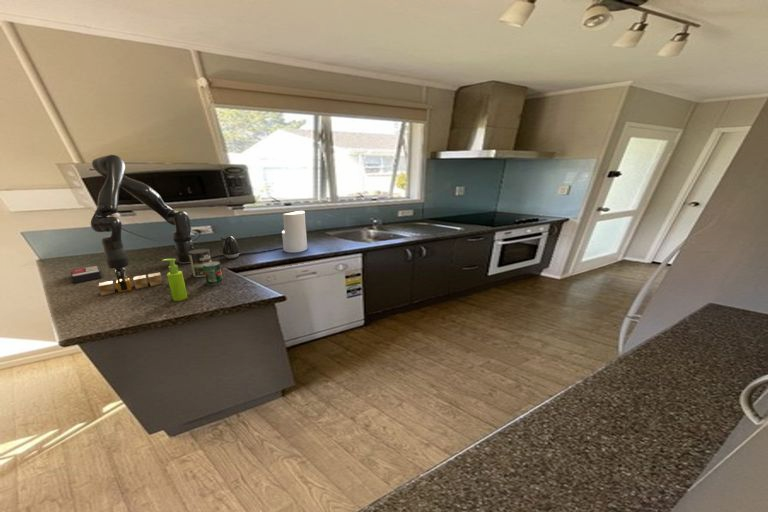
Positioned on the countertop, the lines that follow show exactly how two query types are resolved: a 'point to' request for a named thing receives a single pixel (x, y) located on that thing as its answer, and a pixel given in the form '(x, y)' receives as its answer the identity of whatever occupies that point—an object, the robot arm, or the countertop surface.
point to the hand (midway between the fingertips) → (125, 287)
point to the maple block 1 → (106, 288)
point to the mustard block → (126, 284)
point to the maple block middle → (140, 281)
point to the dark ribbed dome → (230, 247)
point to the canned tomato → (213, 273)
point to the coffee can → (199, 261)
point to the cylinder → (294, 232)
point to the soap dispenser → (176, 282)
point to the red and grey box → (85, 274)
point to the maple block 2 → (155, 279)
